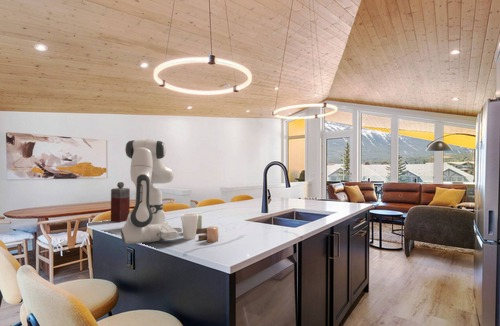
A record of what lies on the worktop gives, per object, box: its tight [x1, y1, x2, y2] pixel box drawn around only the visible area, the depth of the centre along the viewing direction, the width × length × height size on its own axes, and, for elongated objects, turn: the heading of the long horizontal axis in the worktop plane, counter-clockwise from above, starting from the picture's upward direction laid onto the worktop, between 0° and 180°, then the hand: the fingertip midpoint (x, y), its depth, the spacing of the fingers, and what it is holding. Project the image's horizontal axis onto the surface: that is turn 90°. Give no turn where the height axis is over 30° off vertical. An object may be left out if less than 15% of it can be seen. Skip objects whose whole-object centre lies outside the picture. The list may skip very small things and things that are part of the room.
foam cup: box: [180, 212, 198, 240], centre depth 155 cm, size 10×9×13 cm
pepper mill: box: [110, 181, 131, 223], centre depth 203 cm, size 9×11×28 cm
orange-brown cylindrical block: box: [206, 226, 219, 243], centre depth 149 cm, size 6×6×7 cm
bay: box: [196, 227, 207, 241], centre depth 160 cm, size 11×16×2 cm
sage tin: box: [197, 213, 203, 229], centre depth 170 cm, size 6×6×10 cm
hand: (181, 229), depth 153 cm, fingers closed, pressing on foam cup
